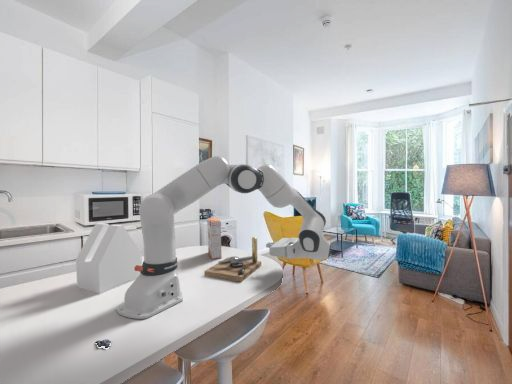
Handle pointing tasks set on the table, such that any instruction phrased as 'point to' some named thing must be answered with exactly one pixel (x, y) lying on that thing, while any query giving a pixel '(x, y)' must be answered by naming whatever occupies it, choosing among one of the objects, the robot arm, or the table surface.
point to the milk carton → (107, 259)
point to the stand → (233, 270)
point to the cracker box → (214, 237)
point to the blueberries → (103, 343)
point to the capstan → (237, 261)
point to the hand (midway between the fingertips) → (267, 244)
